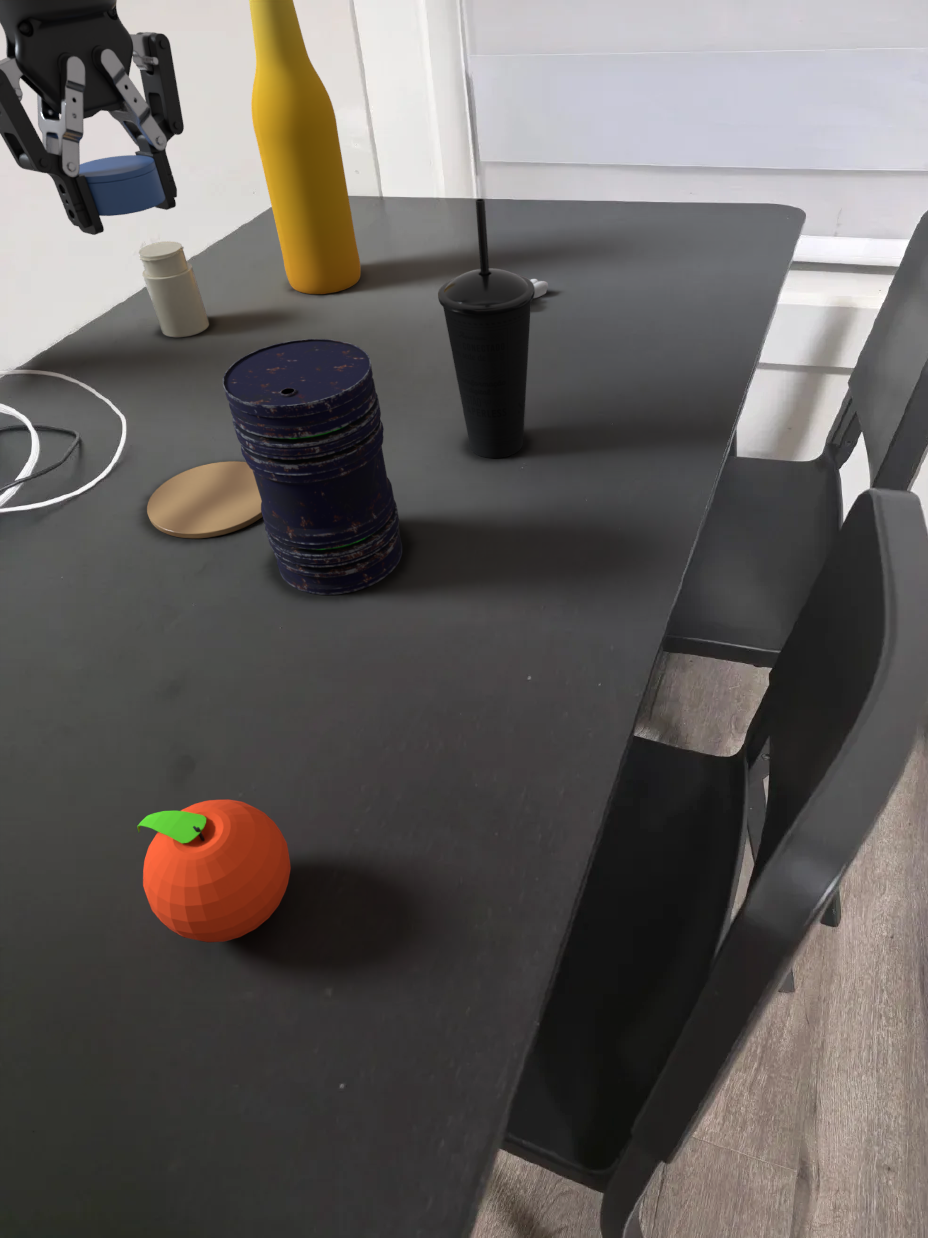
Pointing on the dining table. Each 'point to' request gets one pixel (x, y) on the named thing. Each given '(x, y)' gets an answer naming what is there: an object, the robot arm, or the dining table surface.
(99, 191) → the jar lid
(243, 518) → the coaster
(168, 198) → the robot arm
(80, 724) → the dining table surface
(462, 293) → the drinking cup
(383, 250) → the dining table surface
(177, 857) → the clementine
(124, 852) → the dining table surface
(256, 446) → the navy ridged cylinder
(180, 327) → the jar
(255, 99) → the beer bottle
